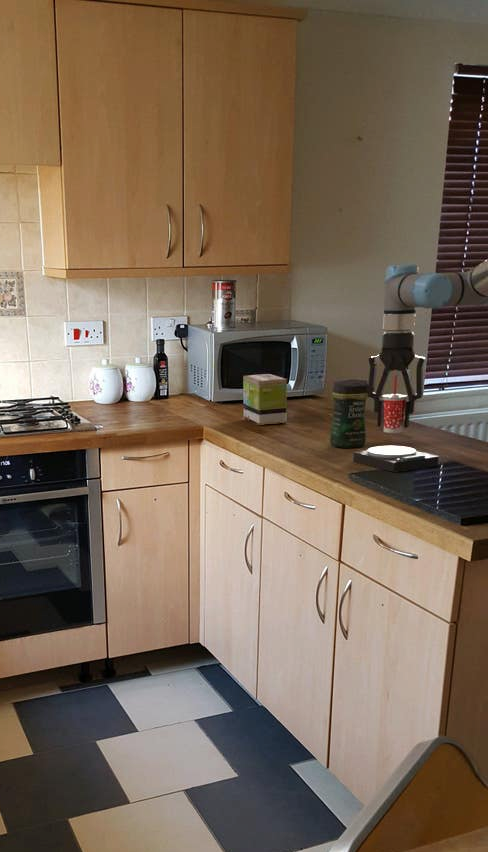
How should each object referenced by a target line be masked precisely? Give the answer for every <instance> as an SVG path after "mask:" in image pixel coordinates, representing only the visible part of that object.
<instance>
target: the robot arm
mask: <svg viewBox="0 0 488 852" xmlns="http://www.w3.org/2000/svg"><path fill="white" fill-rule="evenodd" d="M383 300H384V301H383V317H382V319H383V320H382V331H384V332H383V334H382V338H381V342H382V343H381V351H380V353H379V354H378V355H375V356H374V355H373V356H370V357H369V358H368V364H369V373H368V392H367V396H368V397H367V398H371V399H373V401H374V403H373V412H374V413H377V420H376V421H377V423H376V425H377V426H376V427H378V428H379V427H382V426H383V399H382V396H383V392H384V390H385V387H386V384H387V381H388V380H389V379H388V378H389V376H390V374H391V372H393V371H397V372H401V375H402V377H403V378H402V379H403V381H404V386H405V390H406V395H407V399H406V403H405V412H404V421H403V428H405V429H407V428H409V426H410V415H413V414H414V412H415V406H416V405H415V404H416V400H419V399H421V398H423V396H424V365H425V362H426V357H425V356H418V355H416V353H415V351H414V345H415V344H414V343H415V333H414V330H415V328H416V313H417V311H416V309H417V308H423V309H427V310H428V309H437V308H443V307H445V308H446V307H466V306H468V307H469V306H477V307H481V306H483V305H488V258H487V259H486V260H484V261H483V262H481V263H480V264H478V265H476V266H475V267H473V268H472V269H470V270H467V271H455V272H427V273H426V272H425V273H423V272H422V273H419V267H418V265H417V264H395V265H394V264H393V265H392V264H391V265H389V266H388V267H387V268H386V272H385V281H384V297H383ZM380 361H381V363H382V364H383V366H384V369H383V371H382V375H381V378H380V380H379V383H378V386H377V388H376V379H377V371H378V369H377V368H378V364H379V363H380ZM413 361H414V365H415V366H416V368H415V370H416V371H415V372H416V373H415V374H416V375H415V377H416V382H415V383H416V384H415V387H416V390H415V389H414V386H413V383H412V377H411V374H410V369H409V368H410V367H409V366H410V365H411V363H412V362H413ZM375 388H376V391H375ZM415 392H416V393H415Z"/></svg>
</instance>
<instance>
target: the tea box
mask: <svg viewBox="0 0 488 852" xmlns="http://www.w3.org/2000/svg"><path fill="white" fill-rule="evenodd" d="M242 379H243V380H242V381H243V382H242V384H243V386H242V387H243V391H242V392H243V417H244V416H245V417H247V418H249V419H251V420H253V421H255V422H257V423H269V422H281V421H286V422H287V409H288V407H287V406H288V404H287V403H288V402H287V400H288V399H287V396H288V393H287V389H288V380H287V378H284V377H281V376H278V375H274V374H271V373H263V374H262V373H261V374H252V375H250V374H249V375H243V377H242Z"/></svg>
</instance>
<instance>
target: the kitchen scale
mask: <svg viewBox="0 0 488 852" xmlns="http://www.w3.org/2000/svg"><path fill="white" fill-rule="evenodd" d="M352 459H353V461H352V462H353V463H357V464H361V465H364V466H367V467H370V468H375V469H377V470H382V471H385V470H389V471H393V472H396V471H403V472H405V471H404V470H410V471H415V470H414V469H416V470H420V469H419V468H423V469H425V468H424V467H429V468H432V467H431V466H436V467H438V466H439V459H440V456H439V455H436V454H431V453H427V452H423V451H417V450H416V449H415V448H412V447H409V446H402V445H377V446H372V447H369V448H368V449H367V450H360V451H354V452H353V458H352ZM437 465H438V466H437ZM389 471H388V472H389ZM393 472H392V473H393Z"/></svg>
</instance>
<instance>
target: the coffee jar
mask: <svg viewBox="0 0 488 852" xmlns="http://www.w3.org/2000/svg"><path fill="white" fill-rule="evenodd" d="M368 383H369V381H368V380H365V379H361V378H346V379H338V380H335V381H334V383H333V387H332V393H331V394H332V398H333V403H334V404H333V415H332V416H333V417H332V424H331V429H330V438H329V440H330V441H329V443H330V445H331V446H333V447H334V448H337V447H338V448H341V449H342V448H344V449H345V448H346V449H350V448H359V447H360V448H361V447H364V446H365V445H366V443H367V430H366V403H367V400H368V398H369V397H368V396H367V392H368Z"/></svg>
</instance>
